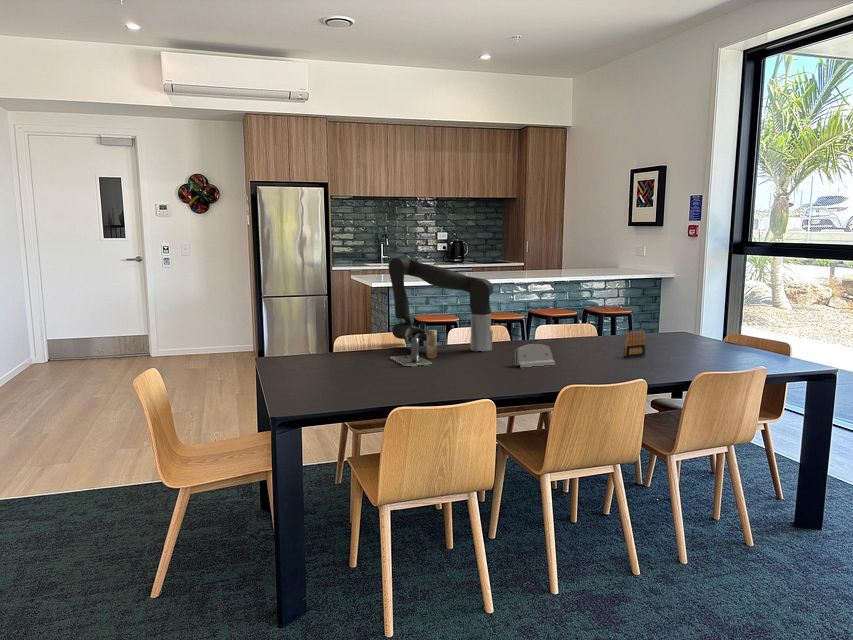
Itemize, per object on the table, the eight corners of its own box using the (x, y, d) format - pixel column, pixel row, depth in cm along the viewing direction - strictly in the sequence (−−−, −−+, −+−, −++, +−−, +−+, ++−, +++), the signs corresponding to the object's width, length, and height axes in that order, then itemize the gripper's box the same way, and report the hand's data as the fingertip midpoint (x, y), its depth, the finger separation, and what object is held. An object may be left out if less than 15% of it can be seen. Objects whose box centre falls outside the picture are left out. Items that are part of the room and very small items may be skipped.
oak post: (434, 356, 278) (434, 329, 277) (438, 358, 274) (438, 331, 273) (425, 356, 276) (425, 330, 275) (429, 358, 272) (429, 331, 271)
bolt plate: (415, 356, 277) (415, 332, 275) (431, 364, 260) (432, 338, 259) (390, 358, 272) (390, 334, 270) (405, 367, 256) (405, 340, 254)
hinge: (520, 368, 254) (517, 344, 256) (515, 370, 258) (511, 346, 260) (556, 365, 259) (552, 341, 261) (550, 367, 264) (546, 343, 266)
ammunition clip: (626, 357, 276) (627, 330, 275) (623, 356, 278) (624, 330, 276) (645, 355, 280) (646, 329, 279) (642, 355, 282) (643, 328, 280)
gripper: (401, 328, 288) (414, 333, 274) (429, 326, 294) (443, 331, 279) (401, 344, 290) (414, 350, 275) (429, 342, 295) (443, 347, 280)
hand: (429, 340), depth 277 cm, fingers open, 8 cm apart
